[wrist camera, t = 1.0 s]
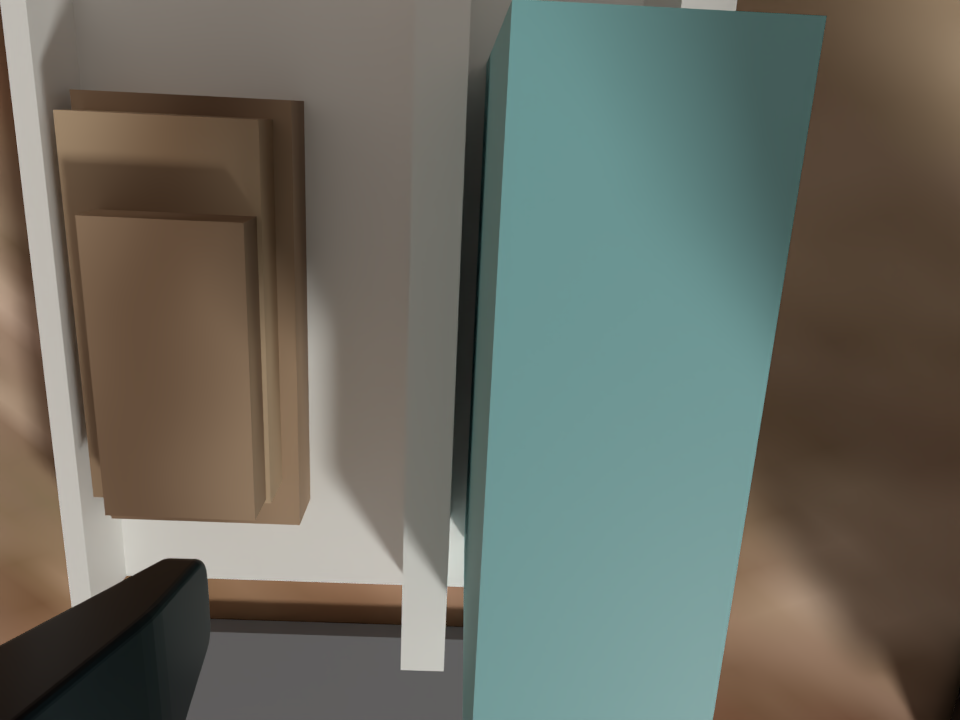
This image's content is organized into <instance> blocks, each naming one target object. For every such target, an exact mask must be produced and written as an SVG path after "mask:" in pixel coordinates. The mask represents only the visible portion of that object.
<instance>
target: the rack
mask: <svg viewBox="0 0 960 720" xmlns="http://www.w3.org/2000/svg"><path fill="white" fill-rule="evenodd" d="M511 1H512V0H0V5H1V14H2V22H3V31H4V39H5V48H6V56H7V65H8V73H9V81H10V90H11V98H12V107H13V115H14V124H15V132H16V141H17V149H18V158H19V166H20V174H21V183H22V191H23V200H24V208H25V217H26V225H27V234H28V242H29V250H30V259H31V267H32V276H33V284H34V293H35V301H36V310H37V318H38V326H39V335H40V343H41V352H42V360H43V369H44V377H45V386H46V394H47V403H48V411H49V419H50V428H51V436H52V445H53V453H54V462H55V470H56V479H57V487H58V495H59V504H60V512H61V521H62V529H63V538H64V546H65V555H66V563H67V571H68V580H69V588H70V597H71V605H72V607H74V606H76V605H78V604H80V603H82V602H83V601H85V600H87V599H89V598H91V597H93V596H95V595H97V594H99V593H100V592H102V591H104V590H106V589H108V588H110V587H112V586H114V585H116V584H117V583H119V582H121V581H123V580H124V578H125V577H126V576H133V575H134V574H136V573H138V572H140V571H142V570H144V569H146V568H148V567H150V566H151V565H153V564H155V563H157V562H159V561H161V560H163V559H167V558H184V559H199V560H201V561H202V562H203V563H204V564H205V567H206V570H207V578H214V579H244V580H274V581H304V582H333V583H363V584H393V585H402V628H401V670H416V671H444V652H445V629H446V606H447V586H452V587H464V532H465V511H466V490H467V469H468V448H469V426H470V405H471V384H472V363H473V341H474V320H475V299H476V278H477V257H478V235H479V214H480V193H481V172H482V151H483V129H484V108H485V87H486V66H487V61H488V59H489V56H490V54H491V51H492V49H493V46H494V44H495V41H496V39H497V36H498V34H499V31H500V28H501V26H502V23H503V21H504V18H505V16H506V13H507V11H508V8H509V6H510V3H511ZM541 1H560V2H578V3H597V4H615V5H634V6H652V7H671V8H689V9H708V10H727V11H736V6H737V0H541ZM69 89H76V90H96V91H116V92H136V93H156V94H176V95H196V96H216V97H236V98H256V99H276V100H295V101H304V135H305V197H306V258H307V320H308V382H309V444H310V501H309V504H308V506H307V509H306V511H305V514H304V516H303V518H302V521H301V523H300V525H281V524H253V523H225V522H197V521H169V520H141V519H112V518H111V516H109V515H105V509H104V499H103V497H93V489H92V479H91V470H90V460H89V451H88V441H87V432H86V422H85V412H84V403H83V393H82V384H81V374H80V364H79V355H78V345H77V336H76V326H75V316H74V307H73V297H72V288H71V278H70V269H69V259H68V249H67V240H66V230H65V221H64V211H63V201H62V192H61V182H60V173H59V163H58V153H57V144H56V134H55V125H54V115H53V110H71V100H70V90H69Z"/></svg>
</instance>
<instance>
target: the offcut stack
mask: <svg viewBox="0 0 960 720" xmlns="http://www.w3.org/2000/svg"><path fill="white" fill-rule="evenodd" d="M69 90H70V100H71V110H53V115H54V125H55V134H56V144H57V153H58V163H59V173H60V182H61V192H62V201H63V211H64V221H65V230H66V240H67V249H68V259H69V269H70V278H71V288H72V297H73V307H74V316H75V326H76V336H77V345H78V355H79V364H80V374H81V384H82V393H83V403H84V412H85V422H86V432H87V441H88V451H89V460H90V470H91V479H92V489H93V497H103V499H104V509H105V515H109V516H111V518H112V519H141V520H169V521H197V522H225V523H253V524H281V525H300V523H301V521H302V518H303V516H304V514H305V511H306V509H307V506H308V504H309V501H310V444H309V382H308V320H307V258H306V197H305V135H304V101H295V100H276V99H256V98H236V97H216V96H196V95H176V94H156V93H136V92H116V91H96V90H76V89H69Z"/></svg>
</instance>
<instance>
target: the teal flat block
mask: <svg viewBox="0 0 960 720" xmlns="http://www.w3.org/2000/svg"><path fill="white" fill-rule="evenodd" d="M826 17H827V16H819V15H801V14H782V13H764V12H745V11H727V10H708V9H689V8H671V7H652V6H634V5H615V4H597V3H578V2H560V1H541V0H512V1H511V3H510V6H509V8H508V11H507V13H506V16H505V18H504V21H503V23H502V26H501V28H500V31H499V34H498V36H497V39H496V41H495V44H494V46H493V49H492V51H491V54H490V56H489V59H488V61H487V66H486V87H485V108H484V129H483V151H482V172H481V193H480V214H479V235H478V257H477V278H476V299H475V320H474V341H473V363H472V384H471V405H470V426H469V448H468V469H467V490H466V511H465V532H464V619H463V720H713V715H714V709H715V702H716V696H717V690H718V684H719V678H720V671H721V665H722V659H723V653H724V647H725V641H726V634H727V628H728V622H729V616H730V610H731V604H732V597H733V591H734V585H735V579H736V573H737V566H738V560H739V554H740V548H741V542H742V536H743V529H744V523H745V517H746V511H747V505H748V498H749V492H750V486H751V480H752V474H753V468H754V461H755V455H756V449H757V443H758V437H759V431H760V424H761V418H762V412H763V406H764V400H765V393H766V387H767V381H768V375H769V369H770V363H771V356H772V350H773V344H774V338H775V332H776V326H777V319H778V313H779V307H780V301H781V295H782V288H783V282H784V276H785V270H786V264H787V258H788V251H789V245H790V239H791V233H792V227H793V221H794V214H795V208H796V202H797V196H798V190H799V183H800V177H801V171H802V165H803V159H804V153H805V146H806V140H807V134H808V128H809V122H810V116H811V109H812V103H813V97H814V91H815V85H816V78H817V72H818V66H819V60H820V54H821V48H822V41H823V35H824V29H825V23H826Z"/></svg>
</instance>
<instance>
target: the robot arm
mask: <svg viewBox="0 0 960 720" xmlns="http://www.w3.org/2000/svg"><path fill="white" fill-rule="evenodd" d="M210 630H211V622H210V608H209V594H208V579H207V570H206V567H205V564H204V563H203V562H202V561H201V560H199V559H184V558H167V559H163V560H161V561H159V562H157V563H155V564H153V565H151V566H150V567H148V568H146V569H144V570H142V571H140V572H138V573H136V574H134V575H133V576H131V577H129V578H127V579H125V580H123V581H121V582H119V583H117V584H116V585H114V586H112V587H110V588H108V589H106V590H104V591H102V592H100V593H99V594H97V595H95V596H93V597H91V598H89V599H87V600H85V601H83V602H82V603H80V604H78V605H76V606H74V607H72V608H70V609H68V610H66V611H65V612H63V613H61V614H59V615H57V616H55V617H53V618H51V619H49V620H48V621H46V622H44V623H42V624H40V625H38V626H36V627H34V628H32V629H30V630H29V631H27V632H25V633H23V634H21V635H19V636H17V637H15V638H13V639H12V640H10V641H8V642H6V643H4V644H2V645H0V720H186V717H187V714H188V711H189V708H190V704H191V701H192V698H193V695H194V691H195V688H196V685H197V682H198V678H199V675H200V672H201V669H202V665H203V662H204V659H205V656H206V652H207V649H208V645H209V640H210ZM951 720H960V689H959V692H958V696H957V700H956V703H955V706H954V710H953V714H952V718H951Z"/></svg>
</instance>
